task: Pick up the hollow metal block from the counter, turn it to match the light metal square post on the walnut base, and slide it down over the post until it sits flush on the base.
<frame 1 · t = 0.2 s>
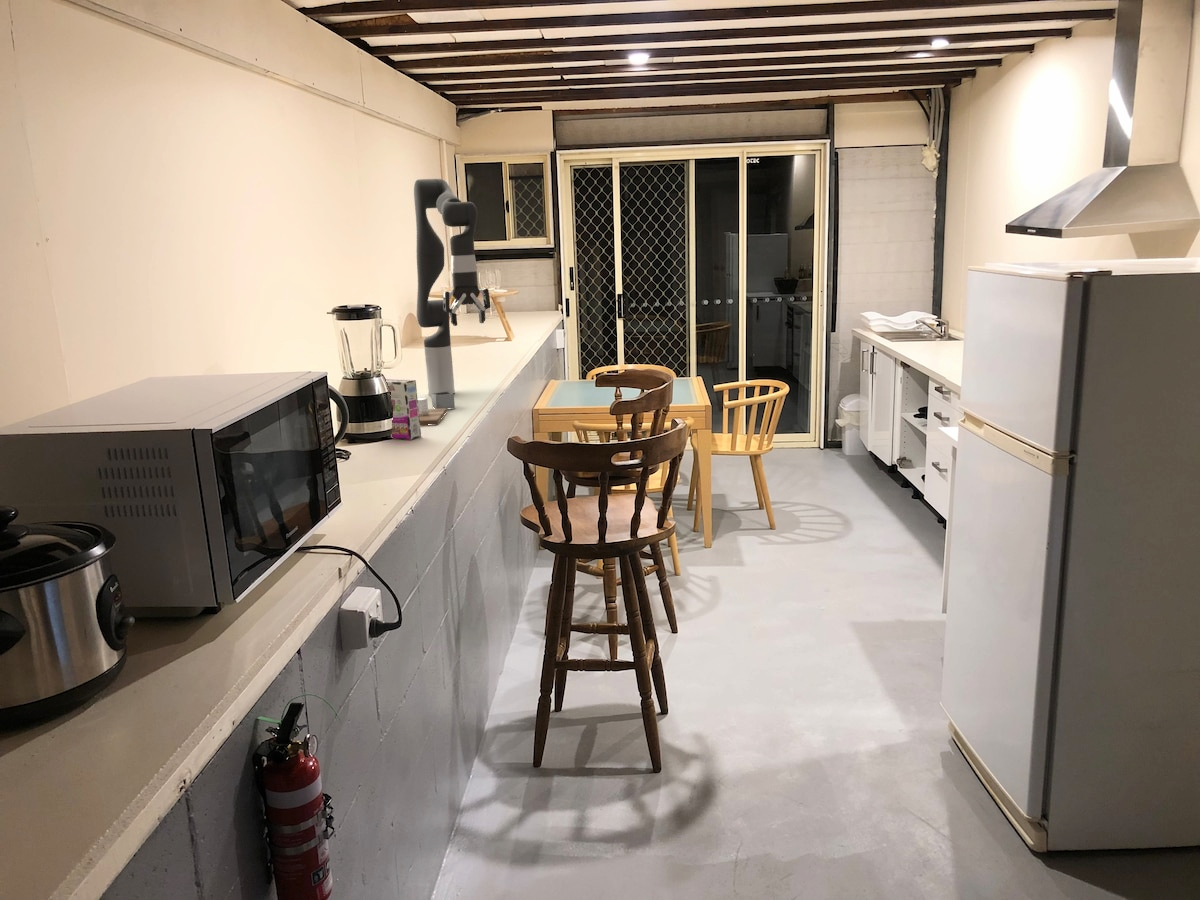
hand: (468, 324, 276), 28 cm above the worktop, tool pointing down, fingers open, 8 cm apart
square post: (421, 407, 278), on the walnut base, point 4 cm above the worktop
candy bar box: (401, 438, 256), on the worktop
hollow metal block: (443, 408, 295), on the worktop
walnut base: (423, 419, 279), on the worktop
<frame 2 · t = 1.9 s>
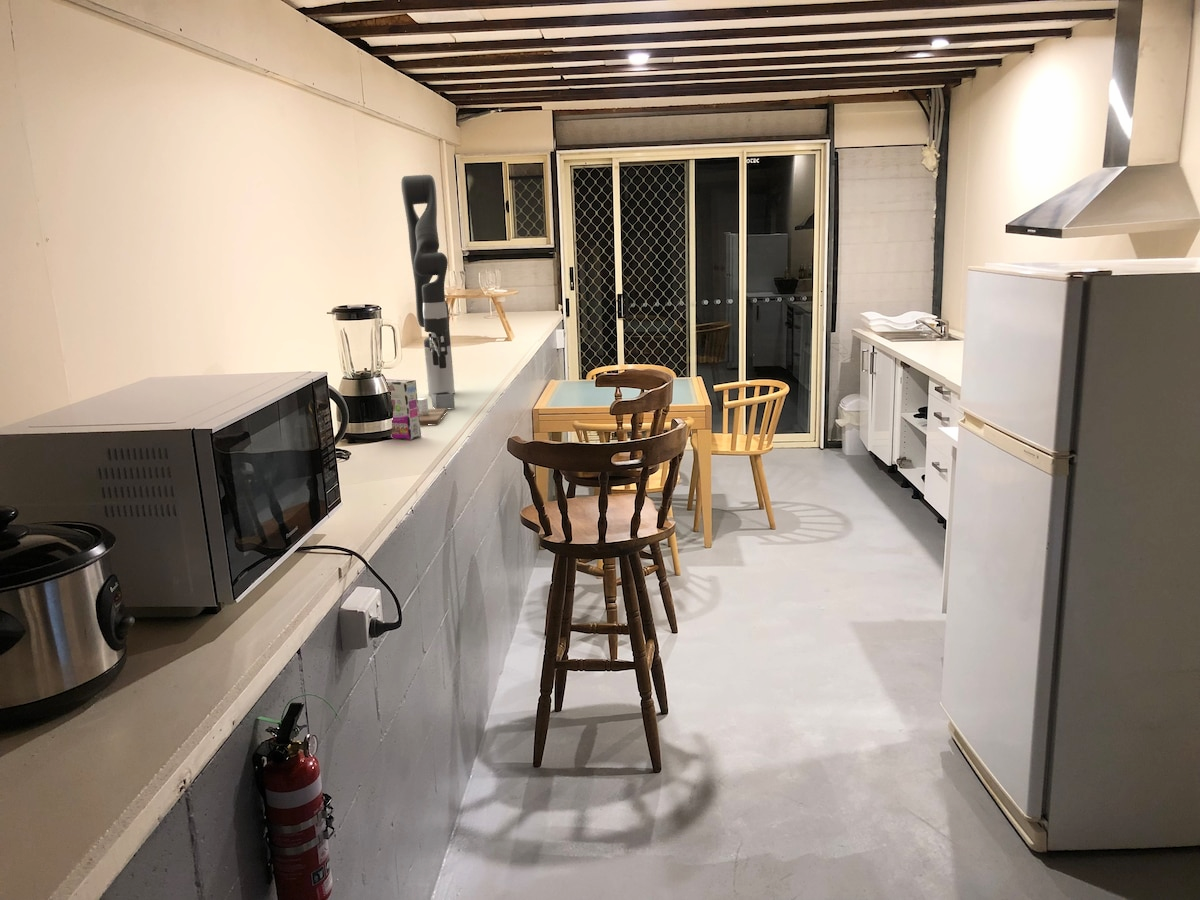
hand: (439, 366, 292), 14 cm above the worktop, tool pointing down, fingers open, 8 cm apart
nothing on the worktop moved.
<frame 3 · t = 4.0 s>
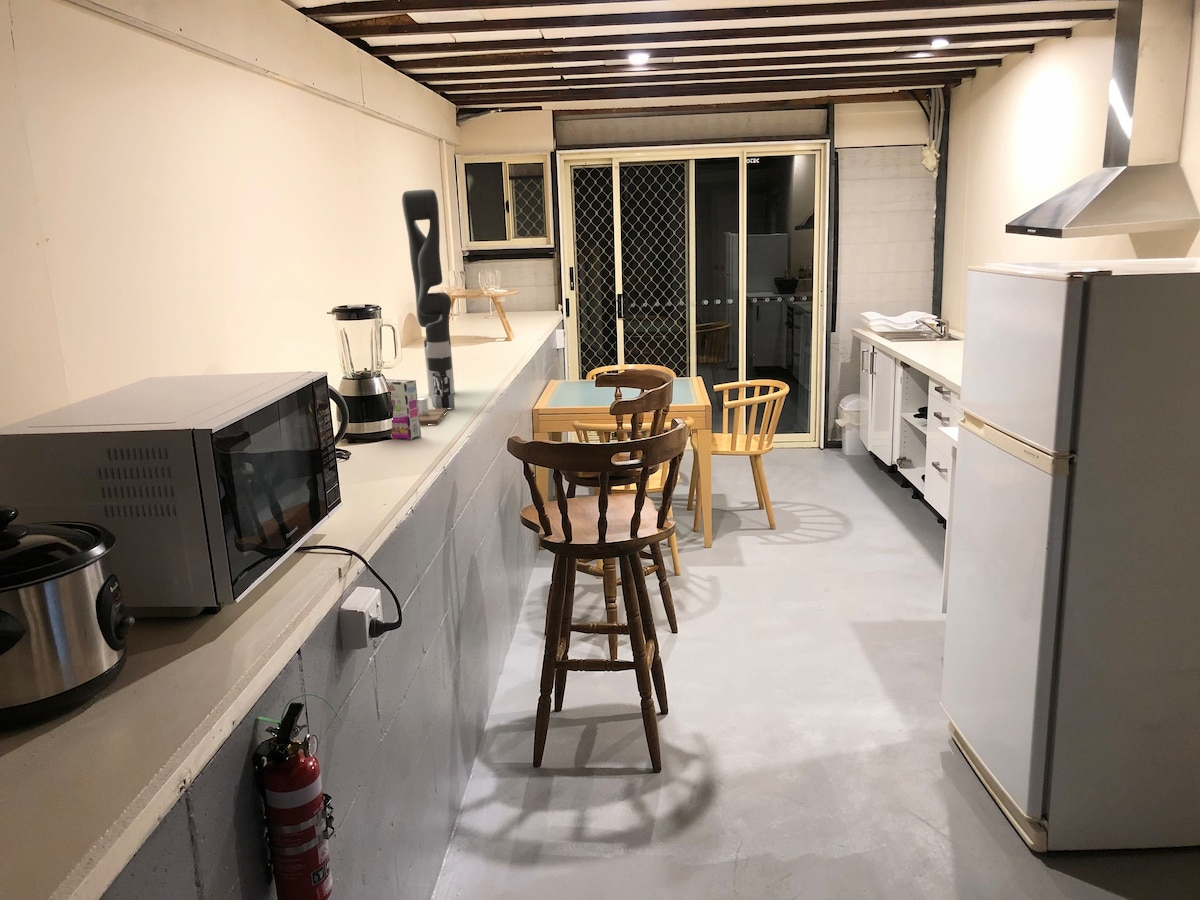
hand: (443, 406, 295), 1 cm above the worktop, tool pointing down, fingers closed on hollow metal block, 6 cm apart
hollow metal block: (443, 408, 295), on the worktop, touching gripper
everything else where it was.
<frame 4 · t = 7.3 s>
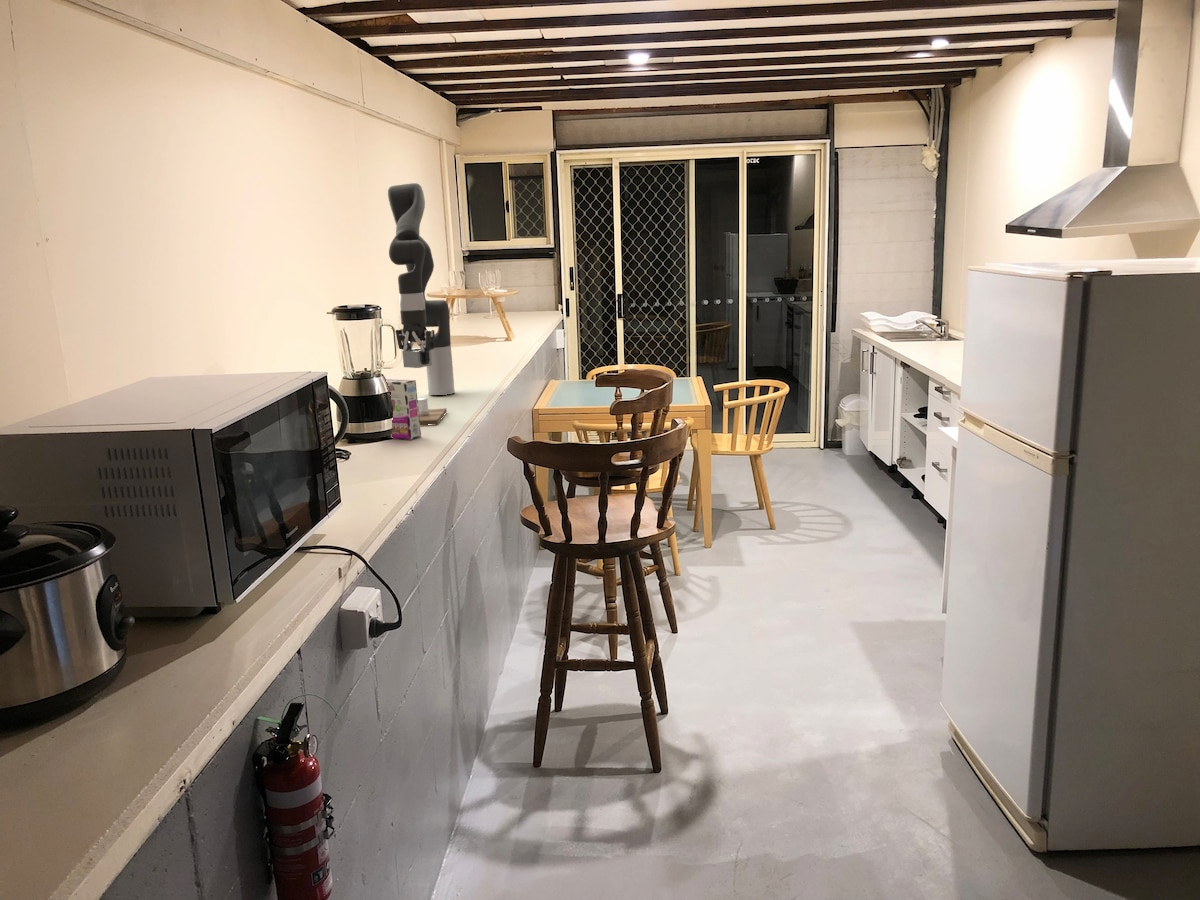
hand: (417, 363, 275), 18 cm above the worktop, tool pointing down, fingers closed on hollow metal block, 6 cm apart
hollow metal block: (417, 366, 275), point 17 cm above the worktop, touching gripper
everything else where it was.
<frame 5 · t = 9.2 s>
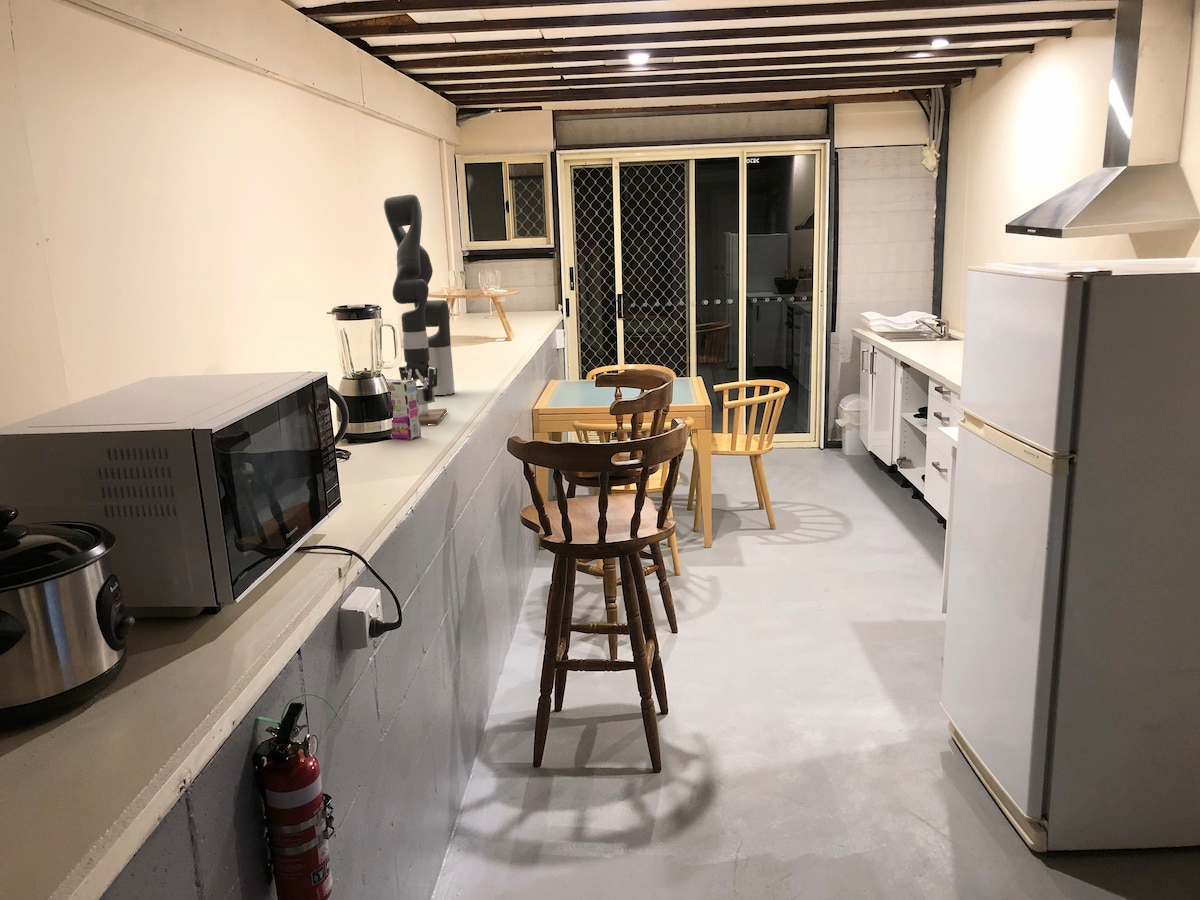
hand: (421, 400, 278), 6 cm above the worktop, tool pointing down, fingers closed on hollow metal block, 6 cm apart
hollow metal block: (421, 402, 278), point 5 cm above the worktop, touching gripper
everything else where it was.
when the fingers open (3 cm above the worktop, at t = 10.9 s): hollow metal block stays where it is, resting on walnut base.
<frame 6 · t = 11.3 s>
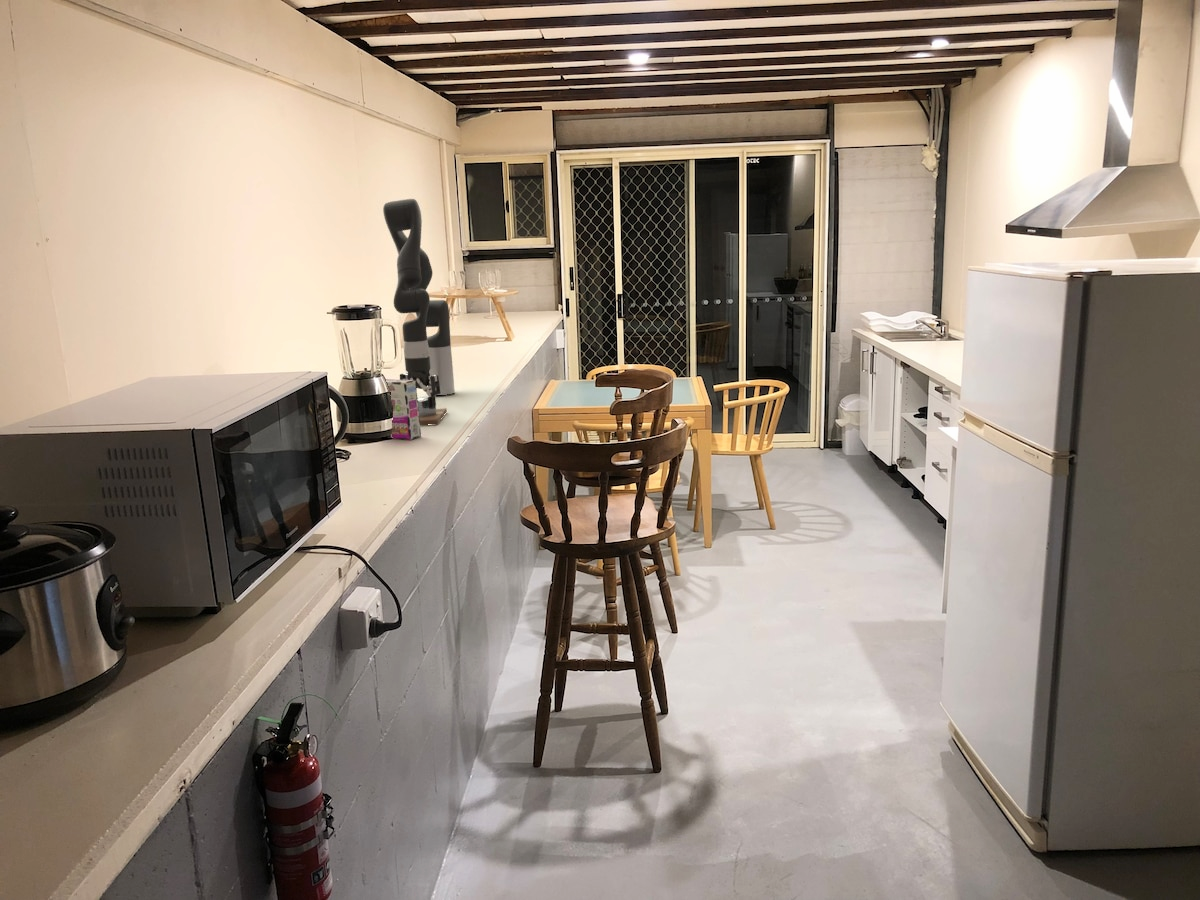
hand: (421, 407, 278), 4 cm above the worktop, tool pointing down, fingers open, 8 cm apart
hollow metal block: (422, 414, 279), point 1 cm above the worktop, touching walnut base
everything else where it was.
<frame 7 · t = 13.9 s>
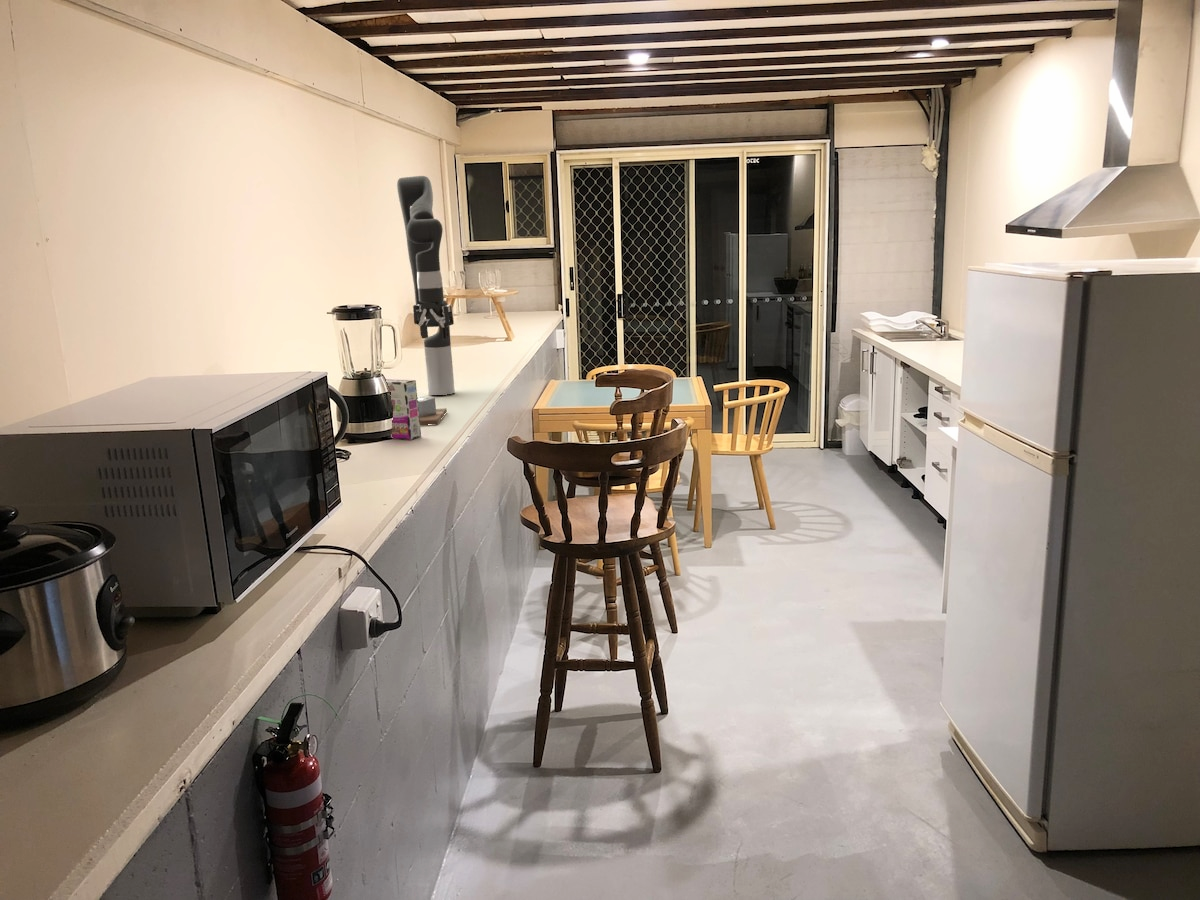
hand: (435, 338, 281), 24 cm above the worktop, tool pointing down, fingers open, 8 cm apart
nothing on the worktop moved.
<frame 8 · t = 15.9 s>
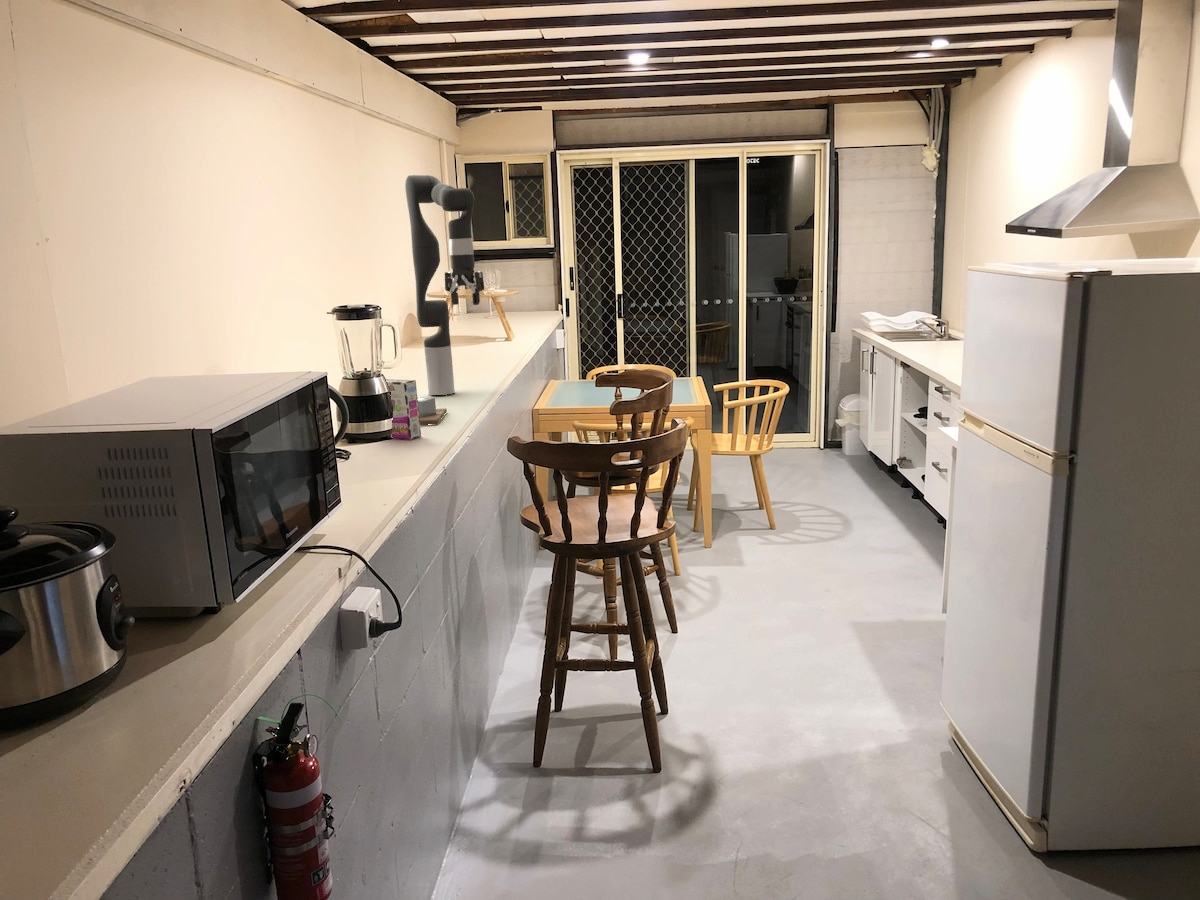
hand: (465, 304, 290), 33 cm above the worktop, tool pointing down, fingers open, 8 cm apart
nothing on the worktop moved.
at the end: hollow metal block 0.1 cm off-centre on the walnut base, point 1.5 cm above the walnut base's base; hollow metal block tilted 0°; the gripper is holding nothing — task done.
